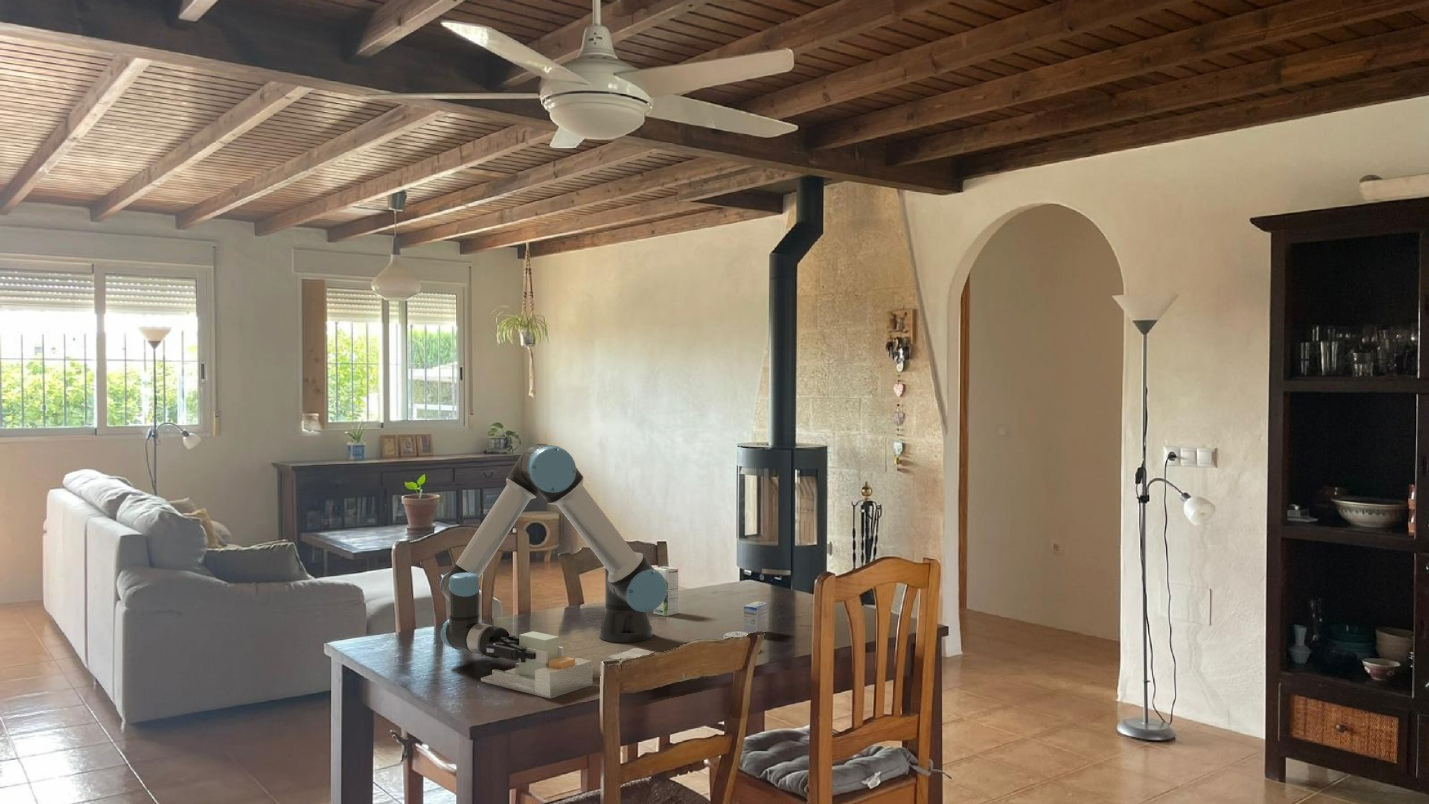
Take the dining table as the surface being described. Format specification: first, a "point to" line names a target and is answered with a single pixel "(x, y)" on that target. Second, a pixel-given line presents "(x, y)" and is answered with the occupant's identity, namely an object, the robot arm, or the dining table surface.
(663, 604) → the syrup box
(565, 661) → the orange rectangular block
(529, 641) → the block
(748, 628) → the medicine box
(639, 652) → the washcloth
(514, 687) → the rail plate
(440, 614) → the dining table surface
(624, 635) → the robot arm
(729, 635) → the mechanical component
